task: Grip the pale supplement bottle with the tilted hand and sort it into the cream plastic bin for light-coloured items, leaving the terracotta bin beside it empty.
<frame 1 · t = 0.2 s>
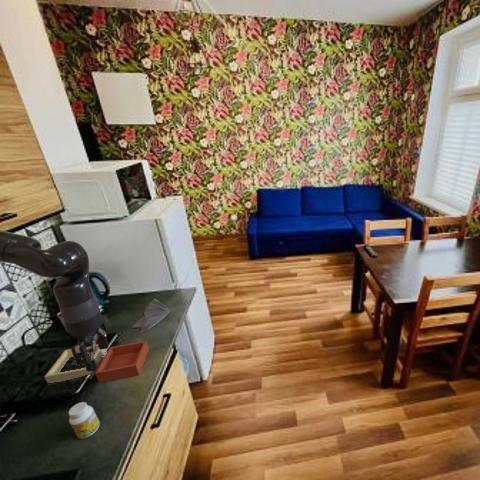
hand: (98, 358, 78), 21 cm above the kitchen counter, tool pointing down, fingers open, 8 cm apart
supplement bottle: (89, 430, 80), on the kitchen counter
food container: (83, 329, 120), on the kitchen counter
terracotta bin: (126, 365, 102), on the kitchen counter
cloth: (154, 314, 130), on the kitchen counter
cream bin: (80, 368, 100), on the kitchen counter
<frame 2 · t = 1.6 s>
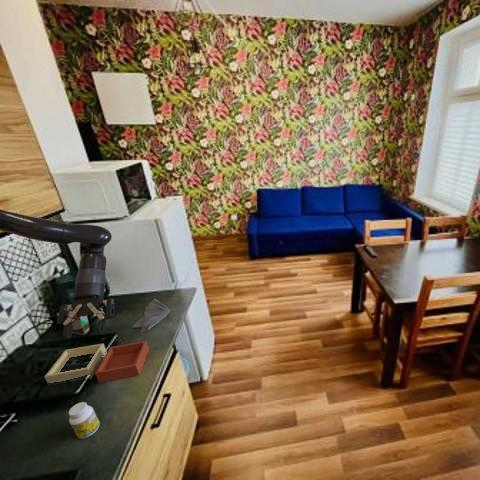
hand: (84, 335, 82), 25 cm above the kitchen counter, tool tilted 45°, fingers open, 8 cm apart
nothing on the kitchen counter moved.
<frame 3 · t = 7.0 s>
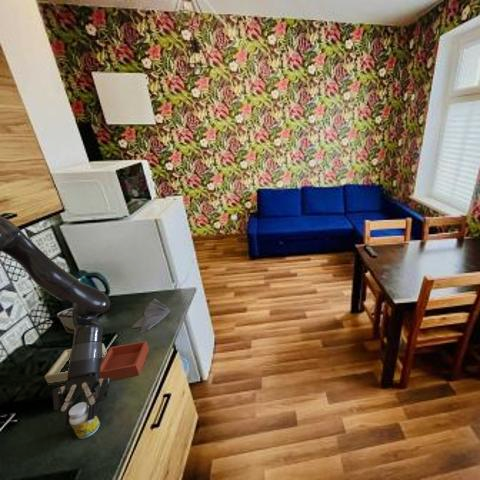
hand: (78, 422, 76), 6 cm above the kitchen counter, tool tilted 45°, fingers closed on supplement bottle, 5 cm apart
supplement bottle: (89, 430, 80), on the kitchen counter, touching gripper
everything else where it was.
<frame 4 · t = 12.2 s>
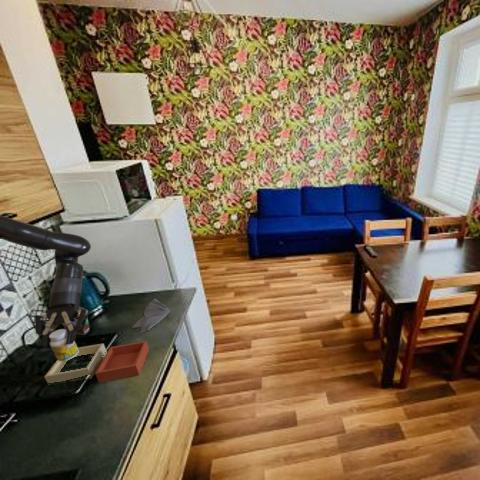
hand: (58, 345, 84), 20 cm above the kitchen counter, tool tilted 45°, fingers closed on supplement bottle, 5 cm apart
supplement bottle: (68, 356, 88), point 14 cm above the kitchen counter, touching gripper
everything else where it was.
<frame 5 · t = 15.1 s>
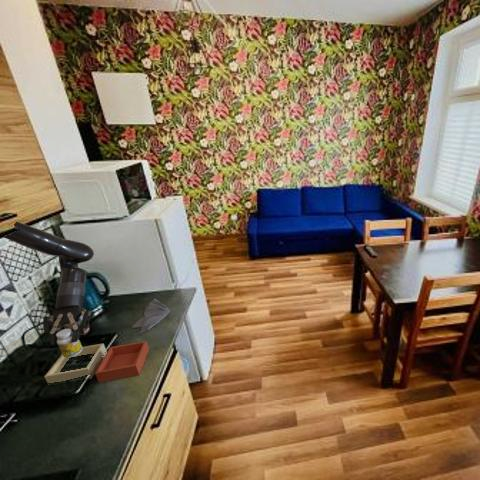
hand: (64, 343, 93), 14 cm above the kitchen counter, tool tilted 45°, fingers closed on supplement bottle, 5 cm apart
supplement bottle: (73, 353, 98), point 7 cm above the kitchen counter, touching gripper
everything else where it was.
when the fingers open (7 cm above the kitchen counter, at t = 17.5 s): supplement bottle stays where it is, resting on cream bin.
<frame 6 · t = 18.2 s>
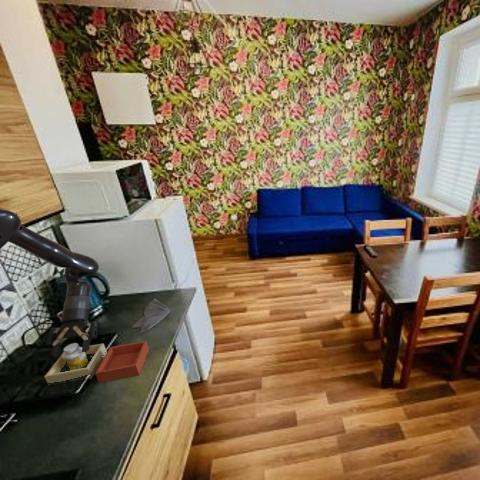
hand: (70, 354, 96), 8 cm above the kitchen counter, tool tilted 45°, fingers open, 8 cm apart
supplement bottle: (80, 366, 100), point 1 cm above the kitchen counter, touching cream bin
everything else where it was.
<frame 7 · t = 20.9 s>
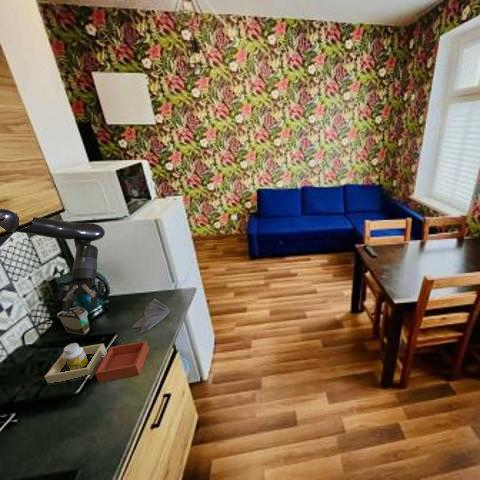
hand: (79, 309, 103), 19 cm above the kitchen counter, tool tilted 45°, fingers open, 8 cm apart
nothing on the kitchen counter moved.
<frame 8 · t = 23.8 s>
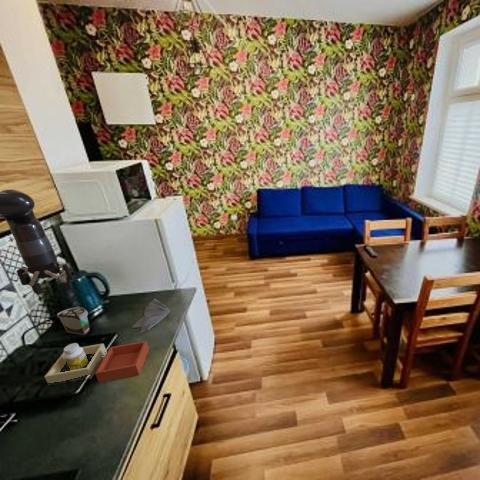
hand: (55, 291, 94), 30 cm above the kitchen counter, tool pointing down, fingers open, 8 cm apart
nothing on the kitchen counter moved.
at the end: supplement bottle inside the target area in the cream bin (0.2 cm from its centre), point 0.6 cm above the cream bin's base; supplement bottle tilted 0°; the gripper is holding nothing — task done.
